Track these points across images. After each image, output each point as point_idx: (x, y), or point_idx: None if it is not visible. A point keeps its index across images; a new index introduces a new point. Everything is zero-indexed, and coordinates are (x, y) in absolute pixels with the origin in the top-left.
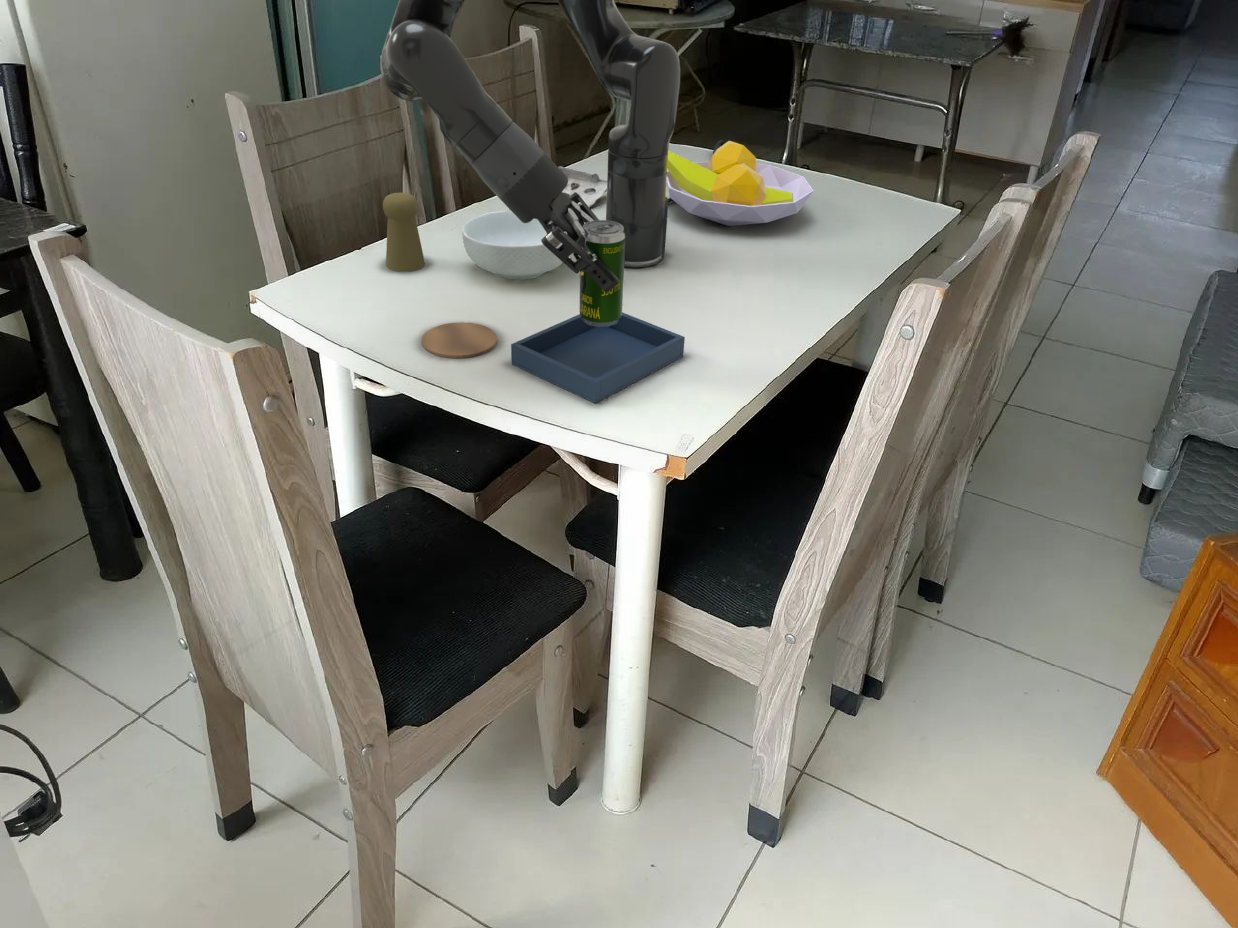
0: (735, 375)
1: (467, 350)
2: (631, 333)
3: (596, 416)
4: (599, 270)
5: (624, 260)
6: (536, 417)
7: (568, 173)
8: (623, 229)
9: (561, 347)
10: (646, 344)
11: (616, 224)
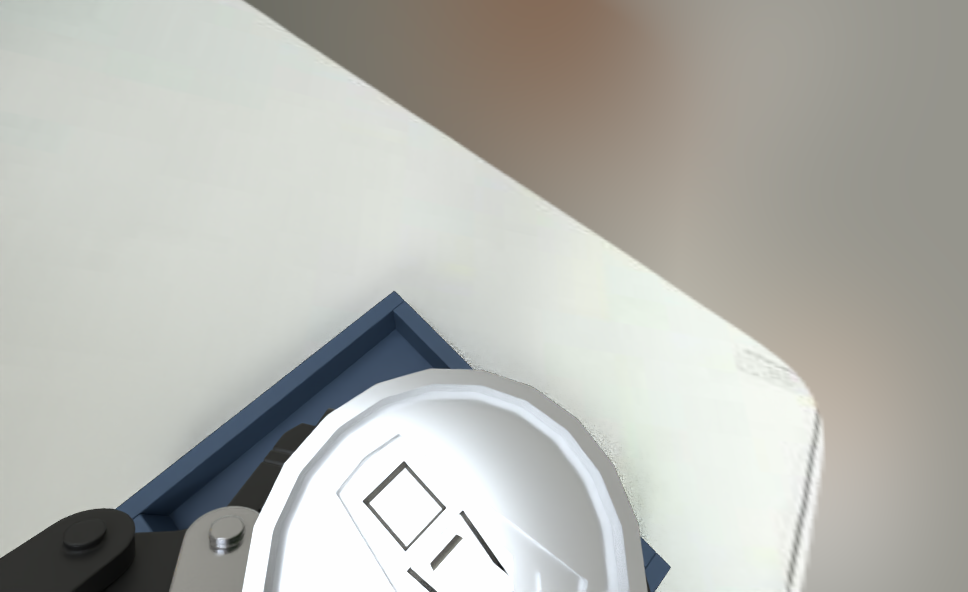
0: (488, 227)
1: None
2: (271, 427)
3: (702, 564)
4: (646, 582)
5: (333, 409)
6: None
7: None
8: (489, 374)
9: None
10: (333, 392)
11: (349, 420)
